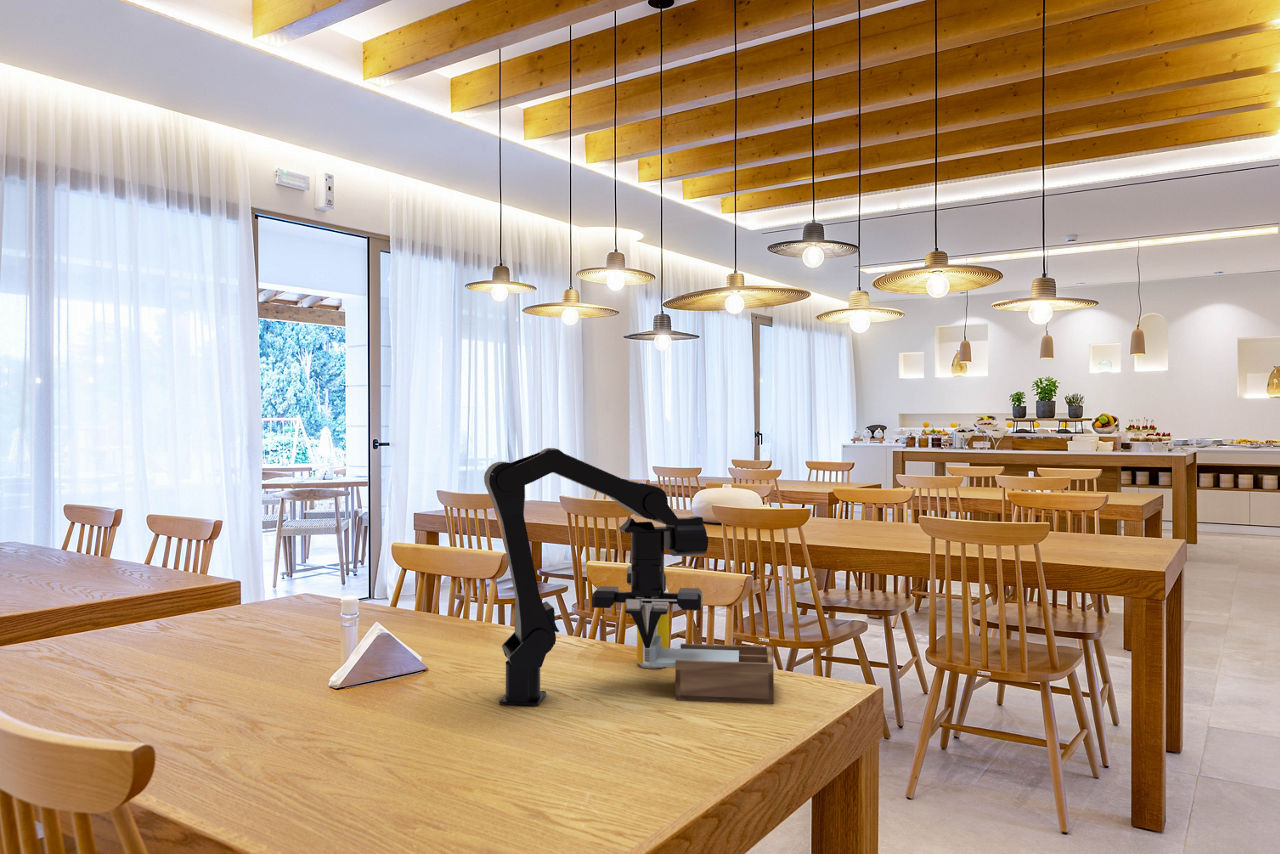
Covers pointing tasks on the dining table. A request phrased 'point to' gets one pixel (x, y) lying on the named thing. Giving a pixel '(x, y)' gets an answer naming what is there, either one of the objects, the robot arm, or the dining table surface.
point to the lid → (687, 655)
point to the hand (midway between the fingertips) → (647, 647)
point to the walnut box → (727, 676)
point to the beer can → (660, 630)
